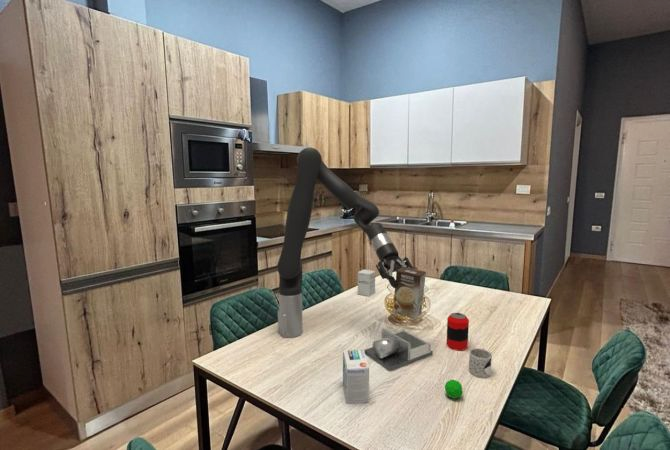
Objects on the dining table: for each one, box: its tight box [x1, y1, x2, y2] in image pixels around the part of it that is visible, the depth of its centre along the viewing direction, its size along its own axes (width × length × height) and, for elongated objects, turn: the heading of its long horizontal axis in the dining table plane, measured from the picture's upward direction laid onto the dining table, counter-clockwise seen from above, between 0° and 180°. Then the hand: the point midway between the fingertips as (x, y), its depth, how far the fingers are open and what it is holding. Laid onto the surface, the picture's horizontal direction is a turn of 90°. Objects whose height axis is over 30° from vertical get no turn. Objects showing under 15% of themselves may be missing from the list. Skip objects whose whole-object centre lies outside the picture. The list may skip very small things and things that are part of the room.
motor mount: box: [363, 328, 434, 372], centre depth 127 cm, size 20×14×8 cm
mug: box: [468, 348, 493, 379], centre depth 117 cm, size 10×7×7 cm, turn 148°
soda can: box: [445, 312, 470, 351], centre depth 133 cm, size 8×8×12 cm
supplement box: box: [357, 268, 376, 298], centre depth 192 cm, size 7×7×13 cm
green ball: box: [444, 379, 464, 400], centre depth 103 cm, size 5×5×5 cm
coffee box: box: [392, 267, 427, 320], centre depth 126 cm, size 9×6×16 cm
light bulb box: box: [342, 349, 370, 404], centre depth 105 cm, size 11×7×11 cm, turn 5°
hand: (404, 285), depth 127 cm, fingers closed on coffee box, 7 cm apart
